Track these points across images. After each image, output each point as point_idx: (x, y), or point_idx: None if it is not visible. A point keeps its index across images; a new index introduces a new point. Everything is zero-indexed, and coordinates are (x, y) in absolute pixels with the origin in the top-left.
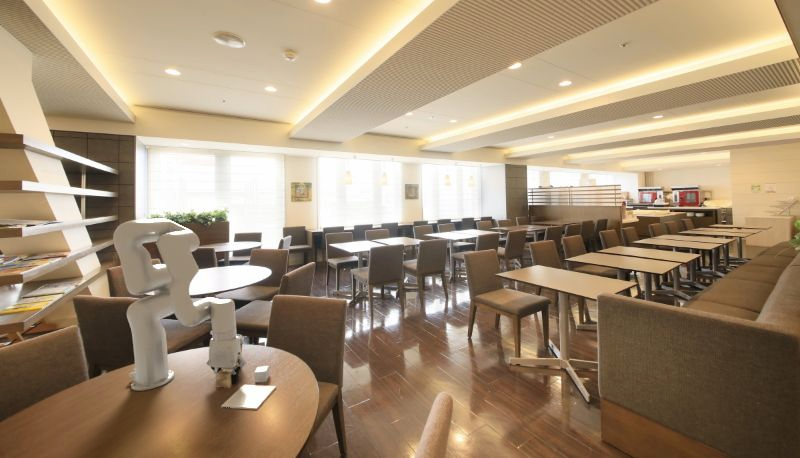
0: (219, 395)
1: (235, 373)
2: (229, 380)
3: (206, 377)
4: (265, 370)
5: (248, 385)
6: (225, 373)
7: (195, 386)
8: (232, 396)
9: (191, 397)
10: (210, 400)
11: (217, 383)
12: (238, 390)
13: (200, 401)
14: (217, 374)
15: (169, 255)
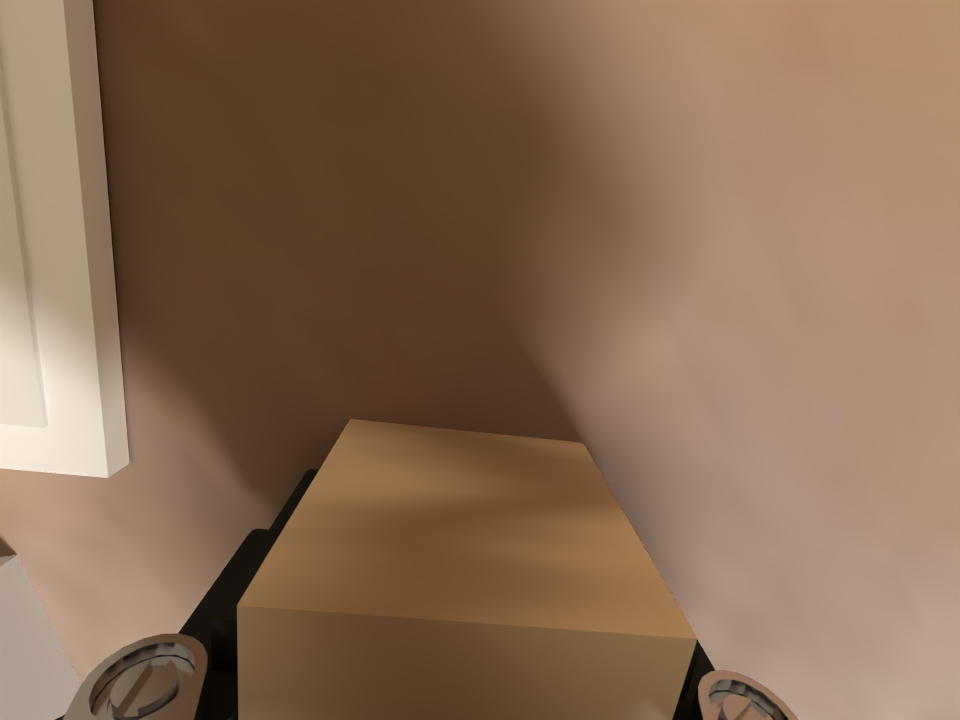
0: (399, 198)
1: (100, 668)
2: (306, 494)
3: (857, 676)
4: None
5: (2, 450)
6: (396, 658)
7: (931, 472)
8: (38, 68)
9: (879, 156)
10: (478, 29)
11: (583, 475)
12: (75, 293)
13: (657, 3)
14: (637, 621)
15: None
